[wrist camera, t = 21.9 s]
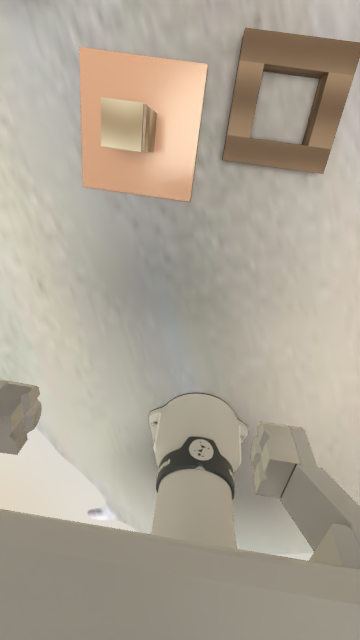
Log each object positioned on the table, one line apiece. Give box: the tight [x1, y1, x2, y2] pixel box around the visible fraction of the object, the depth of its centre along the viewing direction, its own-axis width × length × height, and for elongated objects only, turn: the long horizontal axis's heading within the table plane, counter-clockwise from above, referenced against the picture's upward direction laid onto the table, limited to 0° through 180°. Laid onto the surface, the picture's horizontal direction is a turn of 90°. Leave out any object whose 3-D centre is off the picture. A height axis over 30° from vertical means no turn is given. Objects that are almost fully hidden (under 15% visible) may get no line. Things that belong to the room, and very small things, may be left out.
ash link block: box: [101, 97, 157, 152], centre depth 33 cm, size 4×4×8 cm
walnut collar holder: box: [222, 28, 360, 174], centre depth 34 cm, size 12×12×3 cm
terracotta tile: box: [79, 47, 208, 202], centre depth 37 cm, size 14×14×1 cm
